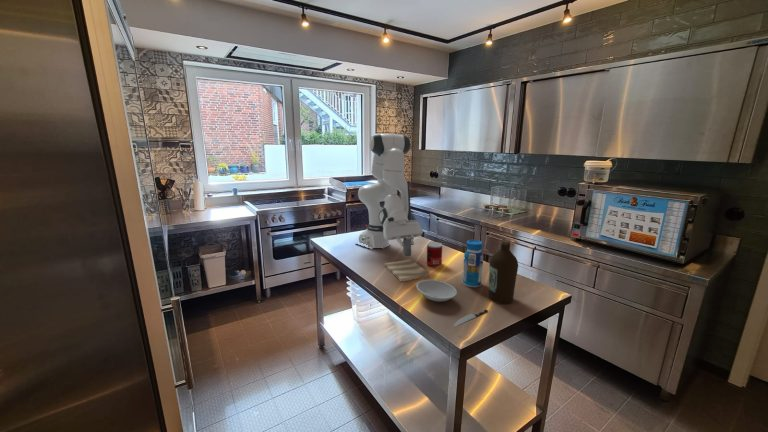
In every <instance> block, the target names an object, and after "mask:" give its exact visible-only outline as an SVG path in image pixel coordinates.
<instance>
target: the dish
mask: <svg viewBox="0 0 768 432" xmlns="http://www.w3.org/2000/svg"><path fill="white" fill-rule="evenodd" d="M415 288H416V289H417V291H418V292H419V293H421V295H422V296H424V297H425V298H426V299H428V300H430V301H433V302H439V303H440V302H446V301H449V300H450V299H452V298H455V297H456V296H457V294H458V291H457V289H456V288H455V286H453V285H452V284H450V283H448V282H445V281H443V280H442V281H441V280H439V279H438V280H437V279H422V280H420V281H418V282H417V283H416V287H415Z"/></svg>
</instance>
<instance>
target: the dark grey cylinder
mask: <svg viewBox="0 0 768 432" xmlns="http://www.w3.org/2000/svg"><path fill="white" fill-rule="evenodd" d="M402 240H403V241H402V242H404V243H405V245H404V246H402V256H403V257H411V256H412V245H411V239H410V238H409V237H405V238H402Z"/></svg>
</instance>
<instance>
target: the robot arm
mask: <svg viewBox="0 0 768 432" xmlns="http://www.w3.org/2000/svg"><path fill="white" fill-rule="evenodd" d="M370 137H371V138H370V140H369V148H370V151H371V152H372V153H373V158H372V166H371V175H372V176H373V177H374V178H375V179H377V183H369V184H365V185H362V186H360V187H359V189H358V192H357V197H358V199H359V200H360V202H361V203H363V204H364V205H365V206H366V208H367V211H368V221H369V223H367V224H366V229H365V230H364V231H362V232H361V233H360V234H359V236H358V240H359V242H360V243H363V244H366V245H368V248H382V247H387V246H389V244H390V241H392V240H396V242H397V243H398V244H399V245H400V247H403V246H404V245H405V243H404V242H403V241H402V240H403V239H404V238H405V237H409V238H410V239H411V246H414V245H415V241H414V239H415V238H417V237H420V238H421V236H422V235H423V233H424V231H423V228H422V226H421V224H420V221H418V220H417V219H413V214H412V209H411V191H410V183H409V181H408V180H407V179H406V178H405V177H406V176H405V155H406V154H407V153H409V151H410V149H411V139H410V138H409V136H407V135H405V134H398V133H373V134H372V136H370ZM398 192H399V193H400V196H399V195H398ZM380 202H384V204H383V207H382V206H381V204H380ZM389 247H390V246H389ZM387 248H388V247H387ZM382 249H383V248H382Z"/></svg>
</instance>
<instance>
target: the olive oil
mask: <svg viewBox="0 0 768 432" xmlns="http://www.w3.org/2000/svg"><path fill="white" fill-rule="evenodd" d="M510 248H511V240H509V239H501V242H500V249H498V250H497V251H496V252H495V253H493V254H492V256H491V257H490V258H489V259H490V260H489V265H488V266H489V269H488V271H489V273H488V298H489V300H490V301H492V302H493V303H496V304H499V305H509V304H512V303H513V301H514V295H515V289H516V288H515V287H516V281H517V275H518V270H519V262H518V259H517V257H516V255H514V254H513V252H512V251H511V250H510Z"/></svg>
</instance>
